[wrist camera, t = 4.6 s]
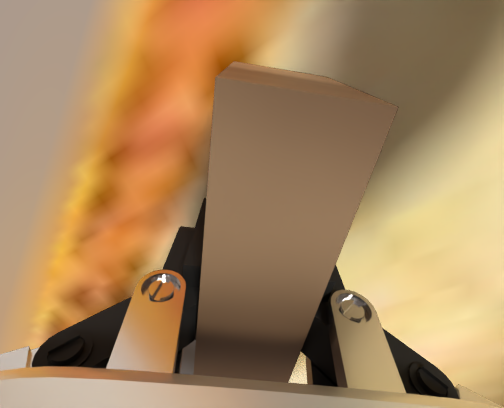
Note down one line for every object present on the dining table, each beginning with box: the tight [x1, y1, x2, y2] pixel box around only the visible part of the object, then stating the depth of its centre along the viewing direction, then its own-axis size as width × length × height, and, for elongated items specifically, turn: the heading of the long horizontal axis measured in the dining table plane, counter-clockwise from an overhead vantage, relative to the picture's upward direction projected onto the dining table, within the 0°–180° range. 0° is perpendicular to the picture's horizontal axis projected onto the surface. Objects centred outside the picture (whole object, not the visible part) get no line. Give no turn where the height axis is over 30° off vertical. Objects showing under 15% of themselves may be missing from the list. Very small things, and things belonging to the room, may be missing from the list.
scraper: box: [180, 61, 398, 383], centre depth 11 cm, size 18×7×5 cm, turn 172°
